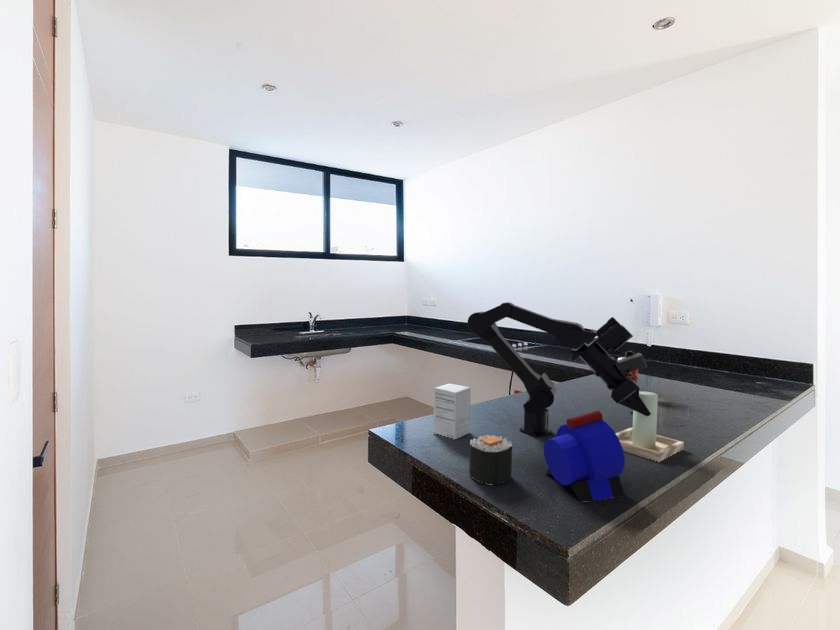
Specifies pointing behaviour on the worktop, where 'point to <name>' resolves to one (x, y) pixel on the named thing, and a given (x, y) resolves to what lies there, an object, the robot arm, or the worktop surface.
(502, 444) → the sushi
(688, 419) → the worktop surface
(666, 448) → the birch tray
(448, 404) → the supplement box
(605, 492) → the alarm clock
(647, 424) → the sage post
